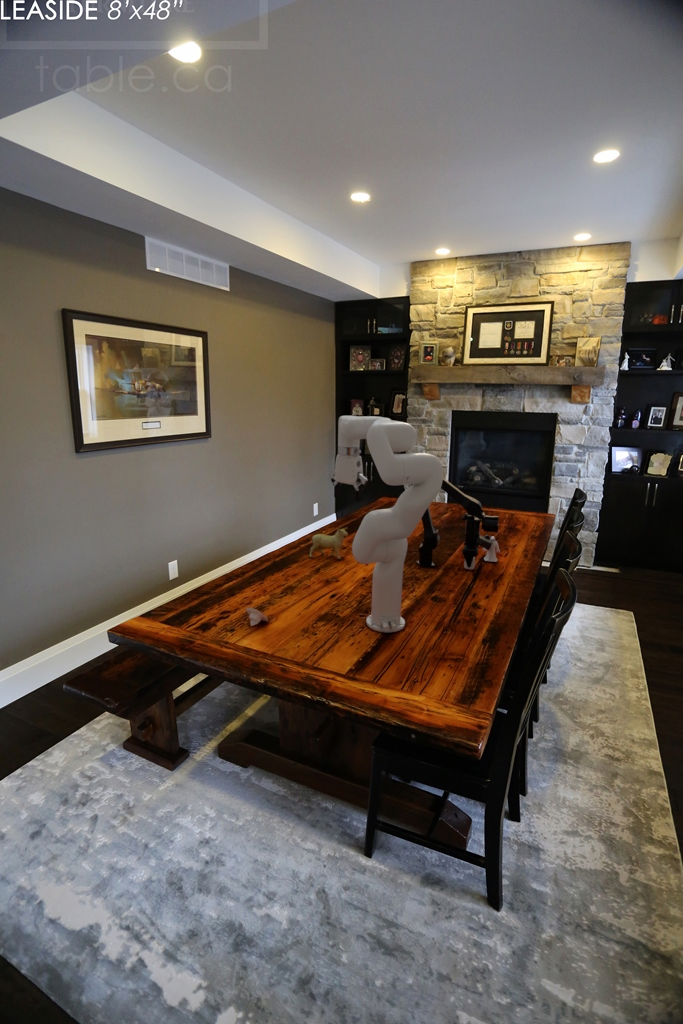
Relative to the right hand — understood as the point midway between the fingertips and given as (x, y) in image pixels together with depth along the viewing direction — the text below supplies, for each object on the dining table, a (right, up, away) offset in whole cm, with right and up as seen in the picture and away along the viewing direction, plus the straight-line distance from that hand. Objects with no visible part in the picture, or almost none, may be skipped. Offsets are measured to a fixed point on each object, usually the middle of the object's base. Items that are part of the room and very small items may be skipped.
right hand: (469, 565), depth 213 cm
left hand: (-52, +27, -34) cm, 68 cm away
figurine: (+13, +1, +12) cm, 17 cm away
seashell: (-82, -13, -52) cm, 98 cm away
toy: (-60, +2, +11) cm, 61 cm away
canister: (0, -1, 0) cm, 1 cm away
